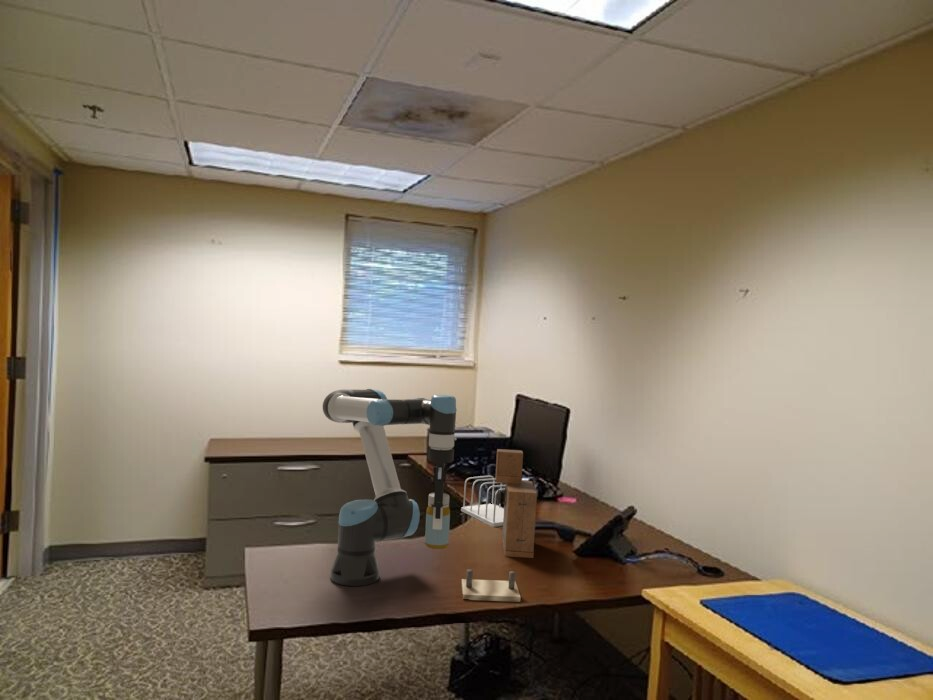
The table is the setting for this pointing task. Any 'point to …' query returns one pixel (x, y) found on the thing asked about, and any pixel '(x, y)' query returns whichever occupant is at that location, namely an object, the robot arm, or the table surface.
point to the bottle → (434, 536)
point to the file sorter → (485, 505)
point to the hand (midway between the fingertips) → (437, 525)
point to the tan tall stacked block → (516, 504)
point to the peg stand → (490, 589)
